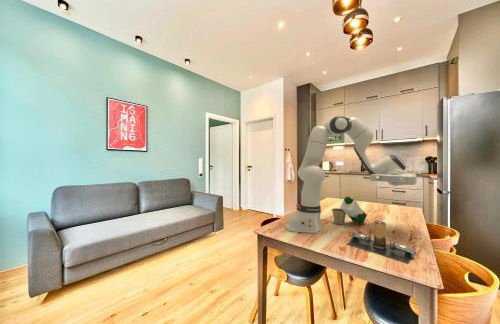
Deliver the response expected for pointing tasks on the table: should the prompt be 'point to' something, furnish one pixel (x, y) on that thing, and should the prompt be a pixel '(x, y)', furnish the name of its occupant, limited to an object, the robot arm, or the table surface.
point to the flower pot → (338, 216)
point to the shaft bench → (392, 250)
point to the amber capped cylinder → (380, 235)
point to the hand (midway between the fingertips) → (387, 179)
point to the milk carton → (353, 210)
